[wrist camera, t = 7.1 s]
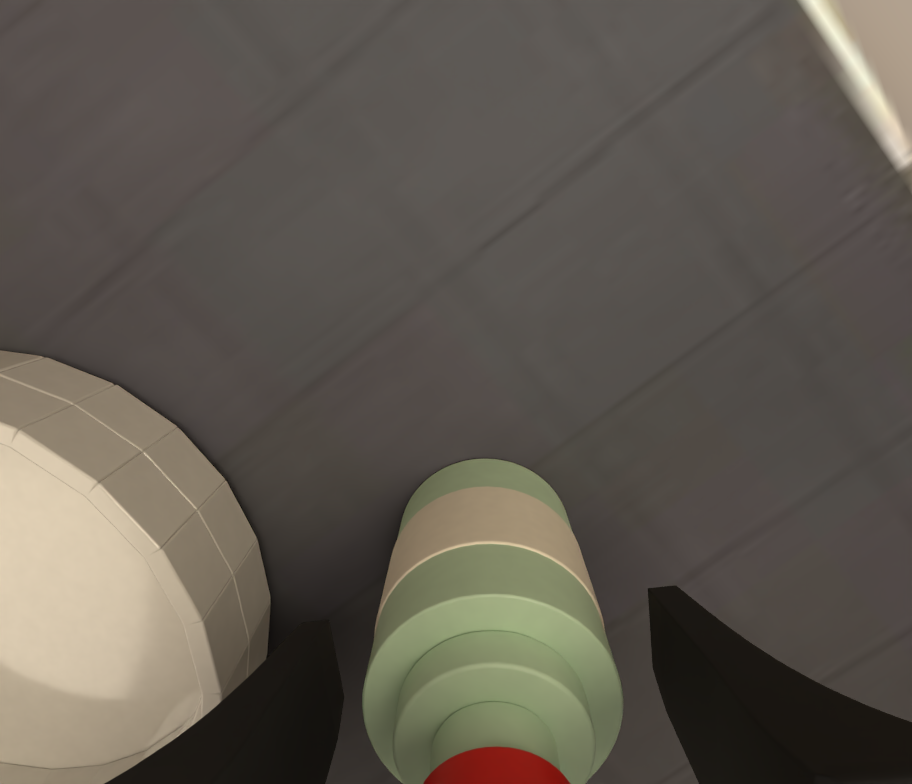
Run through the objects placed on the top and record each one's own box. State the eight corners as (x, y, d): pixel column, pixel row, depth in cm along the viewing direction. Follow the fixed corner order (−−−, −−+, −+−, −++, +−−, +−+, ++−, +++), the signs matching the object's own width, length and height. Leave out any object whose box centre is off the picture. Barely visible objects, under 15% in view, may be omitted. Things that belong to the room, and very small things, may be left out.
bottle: (563, 446, 18) (667, 698, 9) (578, 604, 20) (681, 977, 10) (386, 466, 19) (294, 731, 9) (411, 621, 20) (356, 998, 10)
